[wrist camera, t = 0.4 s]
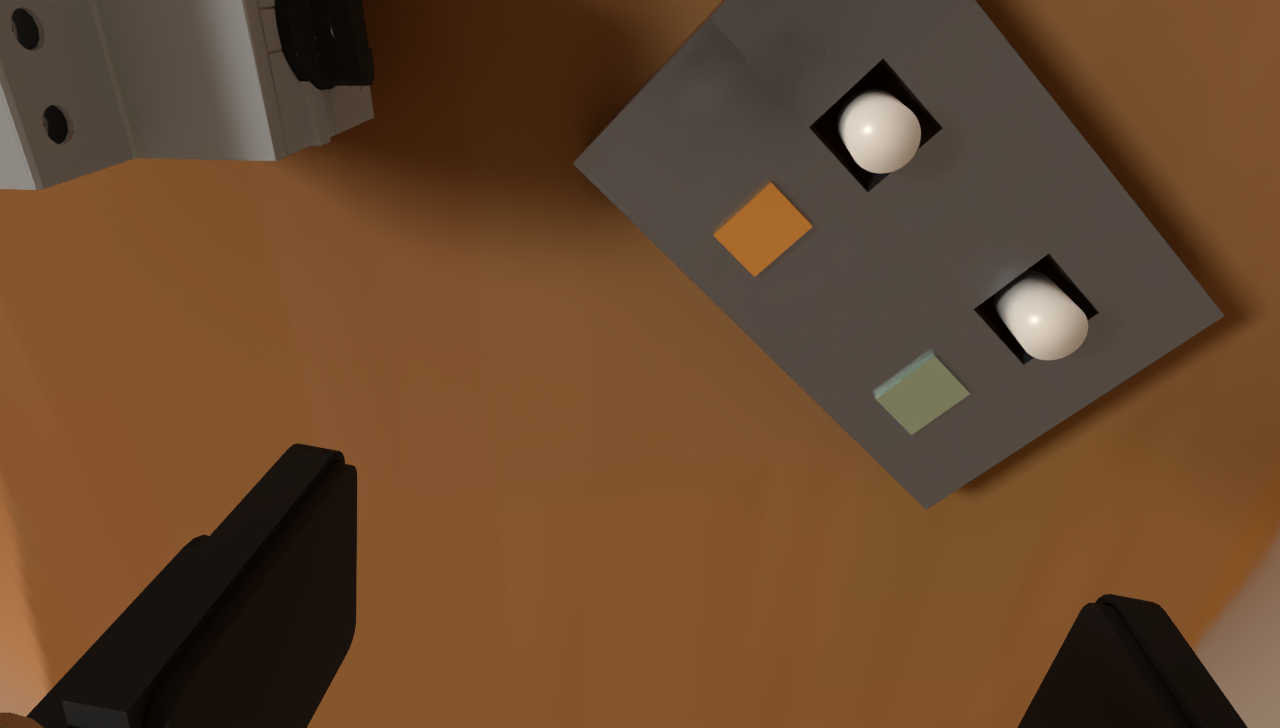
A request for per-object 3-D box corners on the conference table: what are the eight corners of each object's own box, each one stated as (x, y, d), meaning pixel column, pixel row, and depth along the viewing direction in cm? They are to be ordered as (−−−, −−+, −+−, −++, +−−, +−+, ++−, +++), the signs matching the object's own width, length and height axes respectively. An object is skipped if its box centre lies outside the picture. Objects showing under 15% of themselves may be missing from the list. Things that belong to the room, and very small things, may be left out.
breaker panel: (849, -134, 28) (862, -145, 26) (1186, 288, 34) (1228, 318, 31) (584, 147, 34) (571, 165, 31) (912, 472, 39) (927, 513, 36)
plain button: (1032, 258, 32) (1064, 289, 29) (1067, 299, 33) (1101, 333, 30) (981, 296, 33) (1007, 330, 30) (1016, 335, 34) (1044, 372, 31)
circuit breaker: (449, 102, 34) (265, 195, 20) (128, 97, 35) (-244, 182, 21) (428, -106, 30) (191, -157, 17) (73, -103, 31) (-409, -149, 18)
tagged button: (874, 74, 30) (890, 87, 27) (914, 121, 31) (935, 138, 28) (824, 120, 31) (834, 138, 28) (864, 165, 31) (878, 187, 28)
